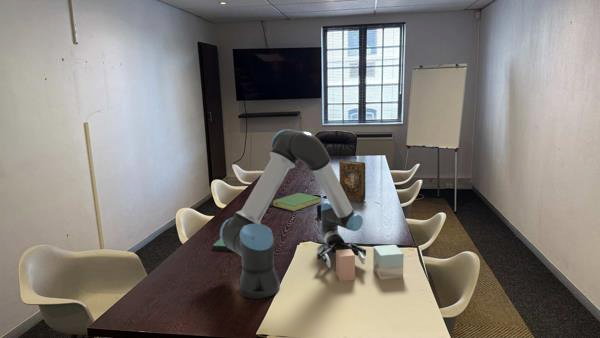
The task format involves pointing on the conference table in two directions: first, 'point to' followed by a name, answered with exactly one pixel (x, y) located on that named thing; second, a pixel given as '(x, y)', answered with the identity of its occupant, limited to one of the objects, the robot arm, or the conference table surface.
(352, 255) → the tall block
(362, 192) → the book
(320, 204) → the digital camera
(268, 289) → the robot arm
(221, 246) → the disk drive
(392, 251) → the tower upper block
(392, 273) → the tower base block
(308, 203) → the hardcover book
